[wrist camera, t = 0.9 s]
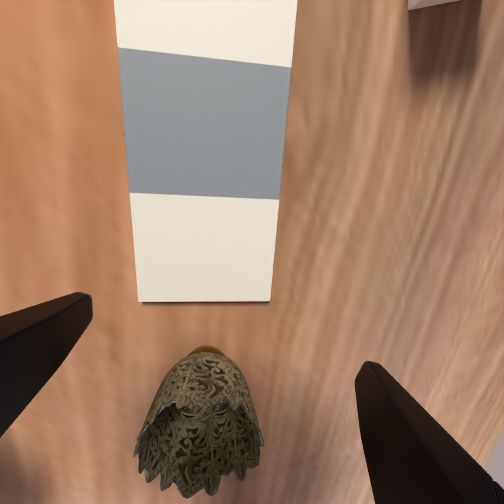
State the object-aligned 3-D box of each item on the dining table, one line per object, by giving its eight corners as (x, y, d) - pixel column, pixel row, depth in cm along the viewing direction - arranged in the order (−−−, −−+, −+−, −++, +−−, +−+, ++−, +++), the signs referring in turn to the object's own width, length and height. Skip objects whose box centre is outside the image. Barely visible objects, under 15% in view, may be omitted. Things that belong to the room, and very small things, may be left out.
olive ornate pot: (226, 308, 22) (231, 386, 14) (262, 372, 24) (281, 467, 17) (144, 346, 22) (105, 442, 14) (187, 405, 24) (174, 514, 17)
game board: (268, 297, 22) (269, 301, 21) (140, 297, 20) (138, 301, 20) (325, -349, 12) (331, -374, 11) (83, -430, 10) (75, -464, 10)
